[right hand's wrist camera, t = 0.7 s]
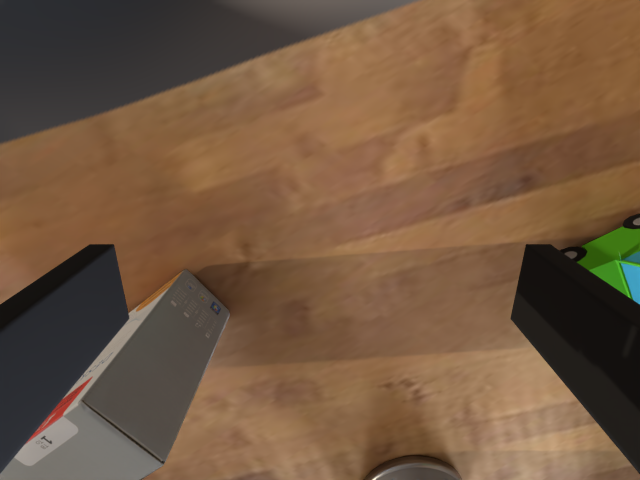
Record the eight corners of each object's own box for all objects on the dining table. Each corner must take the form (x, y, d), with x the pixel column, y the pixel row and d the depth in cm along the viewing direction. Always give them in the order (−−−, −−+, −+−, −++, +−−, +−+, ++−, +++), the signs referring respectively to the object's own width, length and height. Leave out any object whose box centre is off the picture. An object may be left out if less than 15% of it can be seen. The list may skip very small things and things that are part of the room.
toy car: (528, 255, 42) (586, 301, 33) (651, 195, 40) (751, 227, 31) (557, 323, 46) (618, 383, 36) (672, 271, 43) (769, 321, 34)
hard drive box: (186, 265, 43) (83, 398, 24) (232, 311, 45) (172, 467, 27) (94, 337, 46) (-56, 502, 28) (142, 377, 49) (32, 555, 30)
